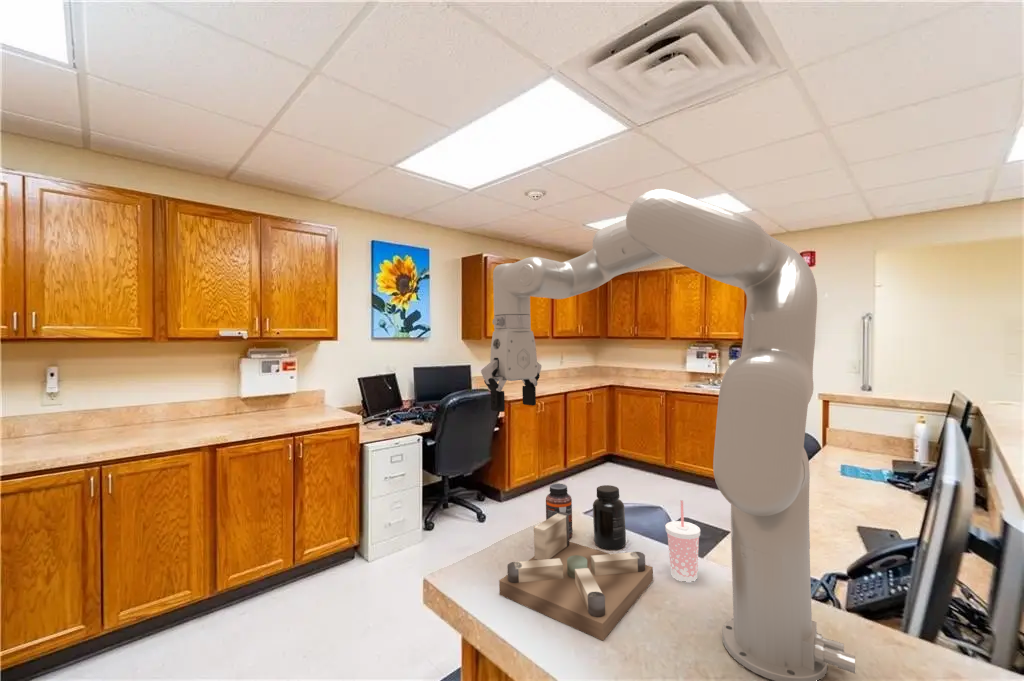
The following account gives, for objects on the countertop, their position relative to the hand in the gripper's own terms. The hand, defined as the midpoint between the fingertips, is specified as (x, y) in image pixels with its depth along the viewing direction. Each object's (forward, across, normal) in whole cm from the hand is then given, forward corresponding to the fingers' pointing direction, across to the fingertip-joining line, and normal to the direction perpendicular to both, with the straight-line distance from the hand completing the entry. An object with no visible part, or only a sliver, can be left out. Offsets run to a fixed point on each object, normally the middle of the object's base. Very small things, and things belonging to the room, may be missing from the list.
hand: (514, 407), depth 89 cm
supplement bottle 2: (+31, +18, -11) cm, 38 cm away
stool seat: (+31, -1, -15) cm, 35 cm away
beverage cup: (+31, +15, -29) cm, 45 cm away
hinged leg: (+28, +3, -7) cm, 29 cm away
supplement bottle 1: (+31, +14, 0) cm, 34 cm away
